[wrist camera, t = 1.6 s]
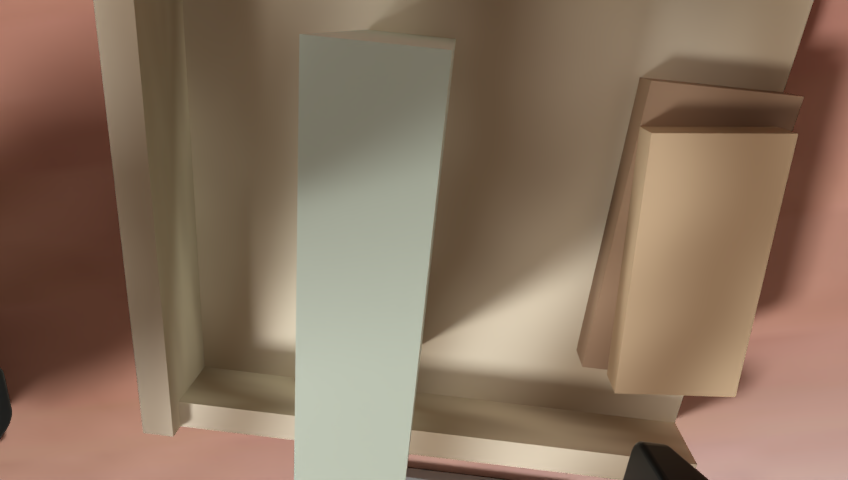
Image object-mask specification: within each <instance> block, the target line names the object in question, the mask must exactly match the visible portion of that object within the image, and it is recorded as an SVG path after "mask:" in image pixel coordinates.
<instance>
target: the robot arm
mask: <svg viewBox="0 0 848 480" xmlns="http://www.w3.org/2000/svg"><path fill="white" fill-rule="evenodd" d="M11 417H12V408H11V403H10V399H9V394H8V389H7V385H6V380H5V376H4V372H3V370H2V369H1V368H0V438H1V437H2V435H3V434H4V432H5V431H6V429H7V428H8V426H9V424H10V421H11ZM623 480H708V479H707V478H706V477H705V476H704V475H702V474H701V473H700V472H699V471H698V470H697V469H695V468H694V467H693V466H692V465H691V464H690V463H688V462H687V461H686V460H685V459H684V458H683V457H681V456H680V455H679V454H678V453H677V452H676V451H674V450H673V449H672V448H671V447H669V446H668V445H666V444H662V443H653V442H645V441H639V442H637V443H636V444H635V445H634V446H633V449H632V451H631V454H630V458H629V461H628V464H627V468H626V471H625V474H624V478H623Z"/></svg>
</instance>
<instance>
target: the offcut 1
mask: <svg viewBox="0 0 848 480" xmlns="http://www.w3.org/2000/svg"><path fill="white" fill-rule="evenodd" d="M803 99H804V97H803V96H798V95H794V94H789V93H784V92H775V91H766V90H756V89H747V88H737V87H728V86H718V85H709V84H699V83H690V82H680V81H671V80H661V79H652V78H642V77H640V79H639V83H638V87H637V91H636V96H635V100H634V104H633V109H632V113H631V117H630V122H629V126H628V130H627V134H626V139H625V143H624V147H623V152H622V156H621V160H620V164H619V169H618V173H617V177H616V182H615V186H614V190H613V195H612V199H611V203H610V207H609V212H608V216H607V220H606V225H605V229H604V233H603V237H602V242H601V246H600V250H599V255H598V259H597V263H596V268H595V272H594V276H593V280H592V285H591V289H590V293H589V298H588V302H587V306H586V311H585V315H584V319H583V323H582V328H581V332H580V336H579V341H578V345H577V349H576V351H577V353H578V356H579V359H580V362H581V365H582V367H587V368H596V369H604V370H607V369H608V361H609V354H610V346H611V339H612V331H613V324H614V316H615V309H616V301H617V294H618V286H619V279H620V271H621V264H622V257H623V249H624V242H625V234H626V227H627V219H628V212H629V204H630V197H631V189H632V182H633V174H634V167H635V159H636V152H637V144H638V137H639V129H640V126H645V127H779V128H782V129H785V130H788V131H791V132H792V131H793V128H794V125H795V122H796V119H797V116H798V113H799V110H800V107H801V104H802V102H803Z"/></svg>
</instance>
